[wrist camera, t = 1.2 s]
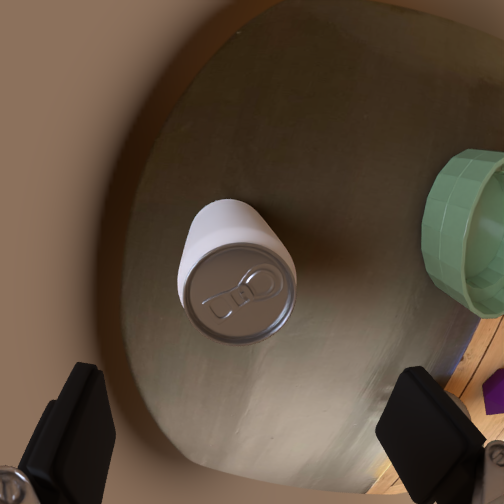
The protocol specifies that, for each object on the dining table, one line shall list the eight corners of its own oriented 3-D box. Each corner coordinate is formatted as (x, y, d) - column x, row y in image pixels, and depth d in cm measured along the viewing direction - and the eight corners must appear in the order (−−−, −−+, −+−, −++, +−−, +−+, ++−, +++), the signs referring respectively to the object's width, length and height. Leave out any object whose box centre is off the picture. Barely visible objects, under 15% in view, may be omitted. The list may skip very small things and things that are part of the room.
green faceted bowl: (414, 150, 26) (462, 153, 20) (511, 149, 28) (552, 154, 21) (414, 308, 32) (450, 339, 25) (505, 275, 33) (539, 294, 26)
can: (279, 247, 28) (325, 313, 16) (215, 285, 28) (220, 371, 17) (241, 183, 26) (265, 206, 14) (174, 224, 26) (147, 279, 15)
